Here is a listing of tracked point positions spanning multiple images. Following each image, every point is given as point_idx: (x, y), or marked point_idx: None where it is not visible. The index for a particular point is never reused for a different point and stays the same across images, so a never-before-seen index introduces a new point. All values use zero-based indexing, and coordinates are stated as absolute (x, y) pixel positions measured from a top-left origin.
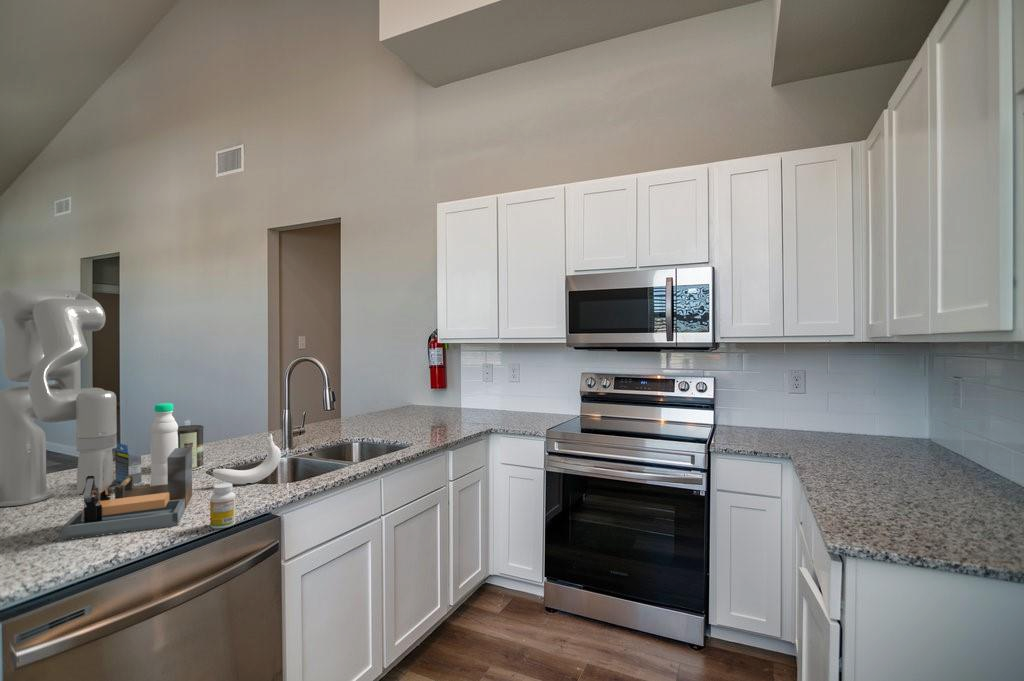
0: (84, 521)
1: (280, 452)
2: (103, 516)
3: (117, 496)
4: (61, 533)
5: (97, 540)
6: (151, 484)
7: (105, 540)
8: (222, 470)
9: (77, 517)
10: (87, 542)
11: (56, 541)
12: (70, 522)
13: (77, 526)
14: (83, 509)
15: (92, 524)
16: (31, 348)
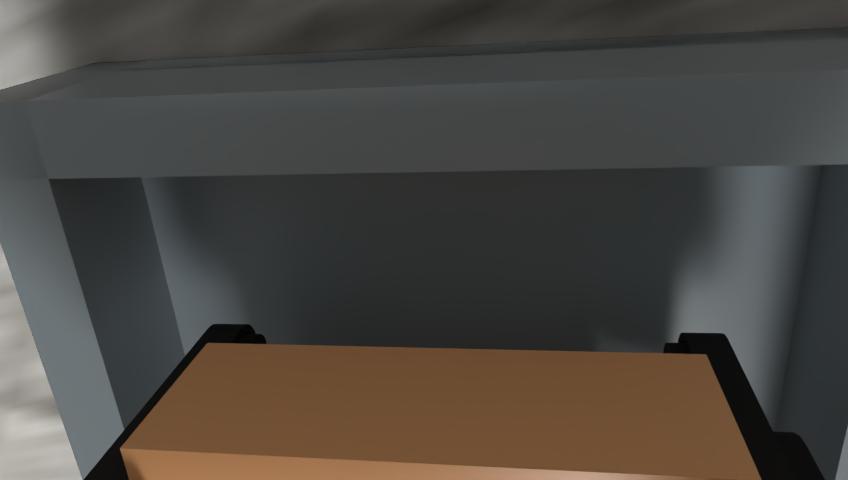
0: (204, 341)
1: None
2: (791, 372)
3: None
4: (24, 83)
5: (57, 410)
6: None
7: (48, 467)
8: None
9: (507, 165)
10: (14, 343)
11: (87, 3)
12: (187, 158)
13: (32, 297)
14: (131, 460)
15: (78, 449)
16: None
